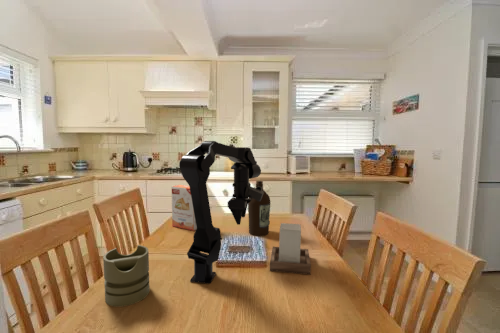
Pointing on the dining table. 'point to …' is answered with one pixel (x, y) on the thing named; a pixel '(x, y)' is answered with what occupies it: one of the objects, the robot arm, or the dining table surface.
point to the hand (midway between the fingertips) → (241, 220)
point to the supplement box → (289, 243)
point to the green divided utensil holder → (126, 277)
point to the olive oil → (259, 214)
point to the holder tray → (288, 267)
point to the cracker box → (182, 208)
